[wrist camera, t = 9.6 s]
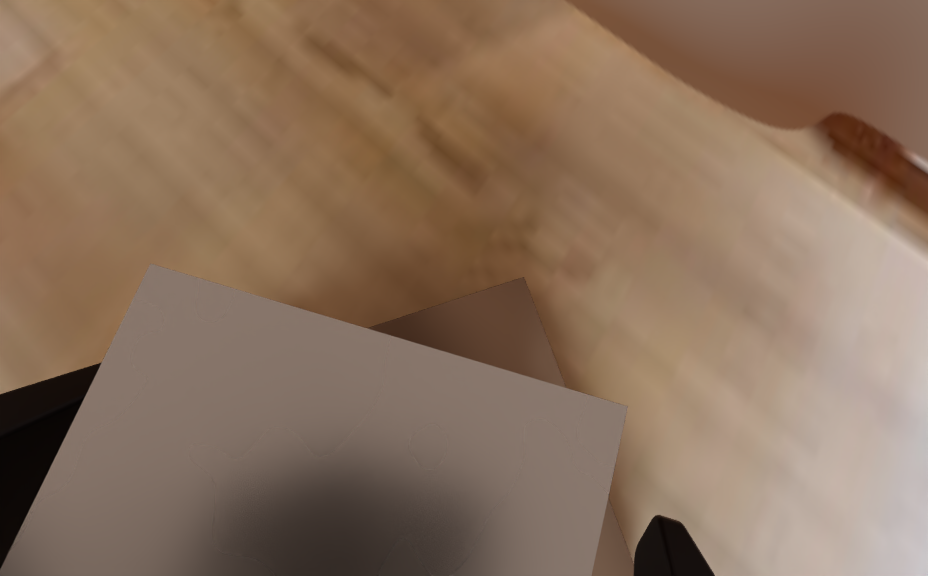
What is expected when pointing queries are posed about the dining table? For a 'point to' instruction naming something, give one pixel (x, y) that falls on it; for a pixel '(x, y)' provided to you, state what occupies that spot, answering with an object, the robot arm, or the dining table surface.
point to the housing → (312, 453)
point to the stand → (505, 365)
